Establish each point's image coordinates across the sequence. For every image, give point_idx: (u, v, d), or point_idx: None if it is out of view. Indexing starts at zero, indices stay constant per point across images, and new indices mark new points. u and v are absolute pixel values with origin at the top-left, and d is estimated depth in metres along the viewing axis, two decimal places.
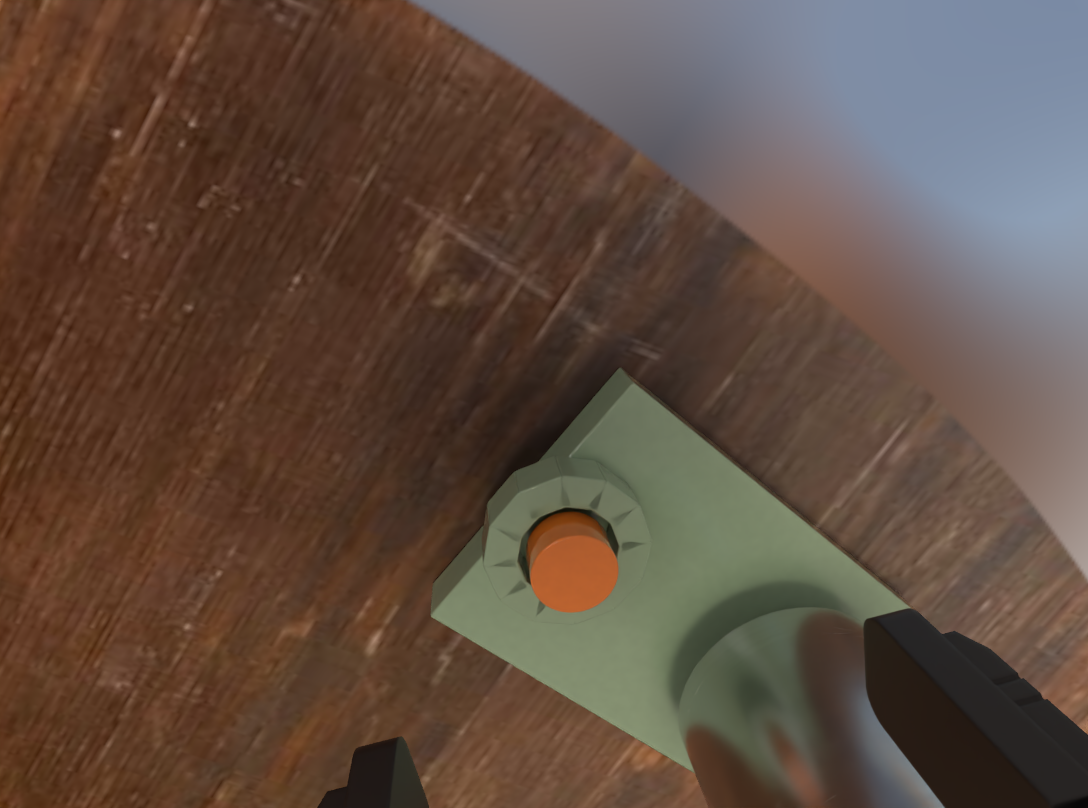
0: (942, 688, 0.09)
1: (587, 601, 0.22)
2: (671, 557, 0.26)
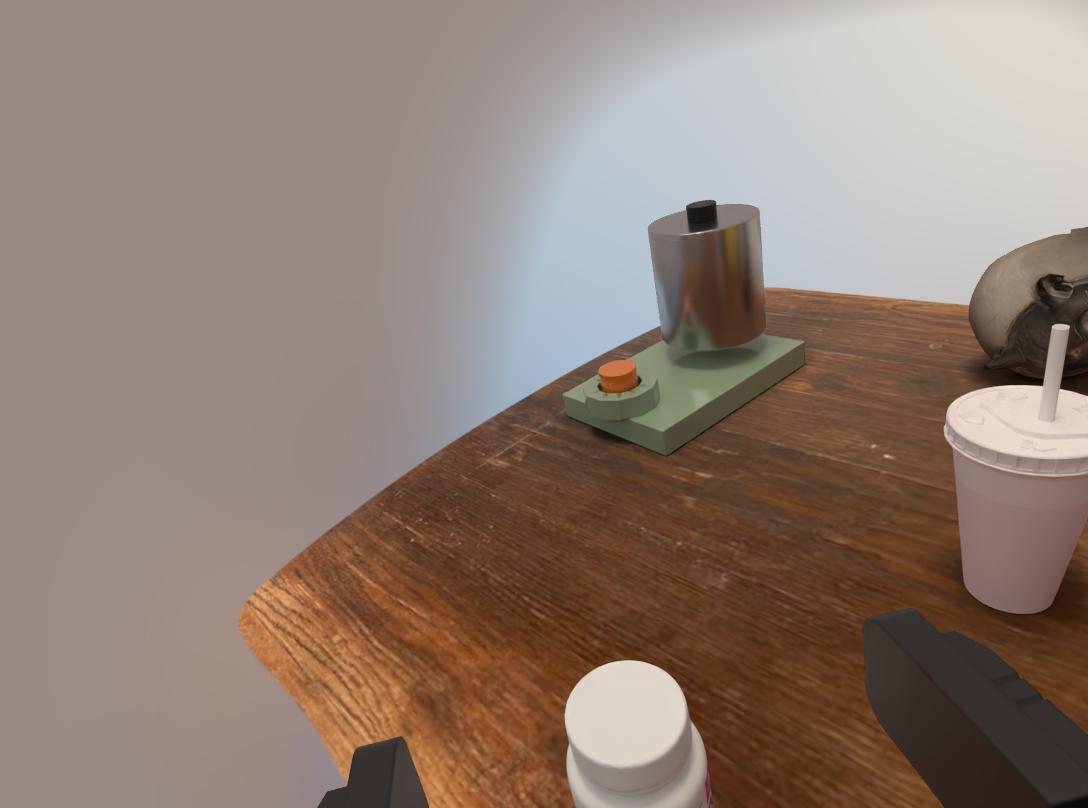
0: (942, 688, 0.09)
1: (630, 364, 0.52)
2: None
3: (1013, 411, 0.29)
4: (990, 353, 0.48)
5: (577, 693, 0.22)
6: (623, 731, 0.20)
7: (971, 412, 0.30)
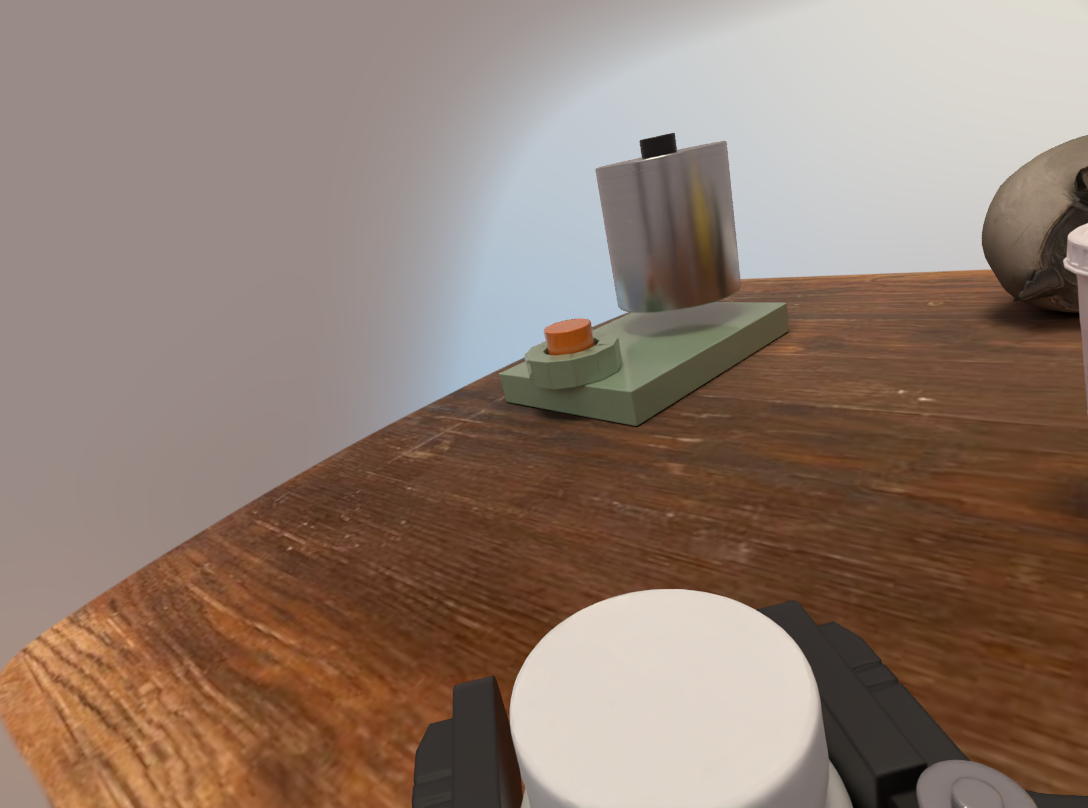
0: None
1: (583, 320, 0.41)
2: None
3: None
4: (1016, 285, 0.39)
5: (536, 662, 0.09)
6: (662, 730, 0.08)
7: None
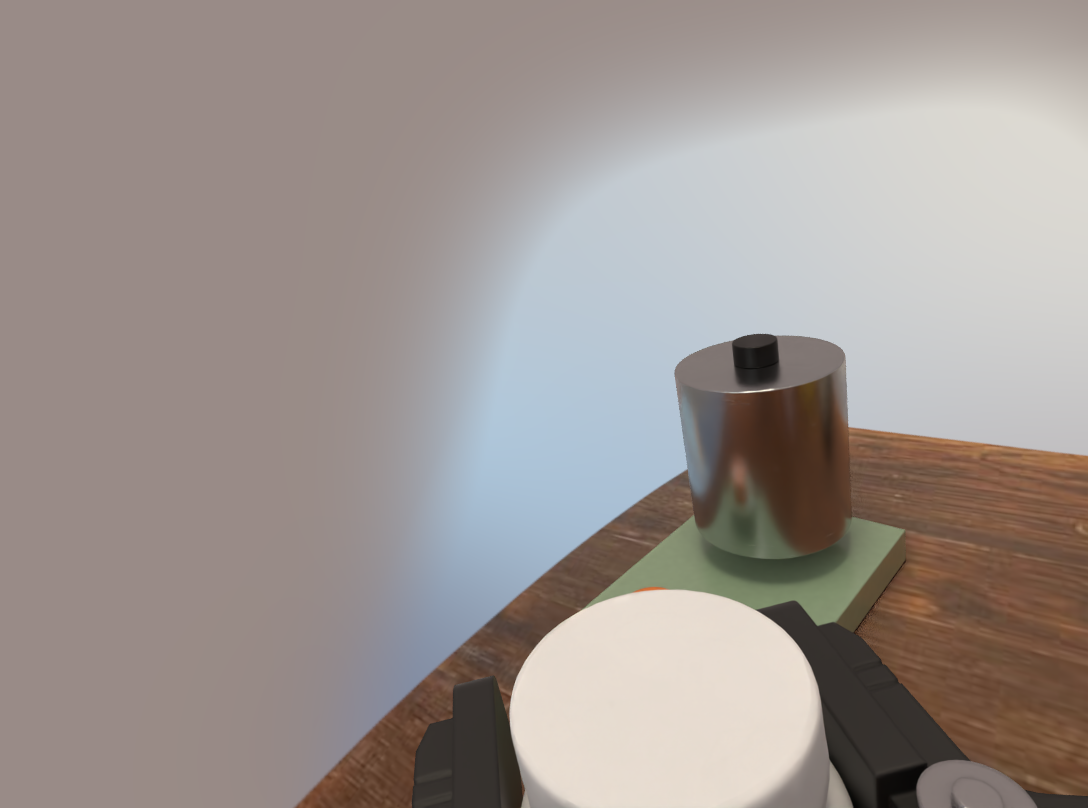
0: None
1: None
2: None
3: None
4: None
5: (537, 664, 0.09)
6: (662, 730, 0.08)
7: None
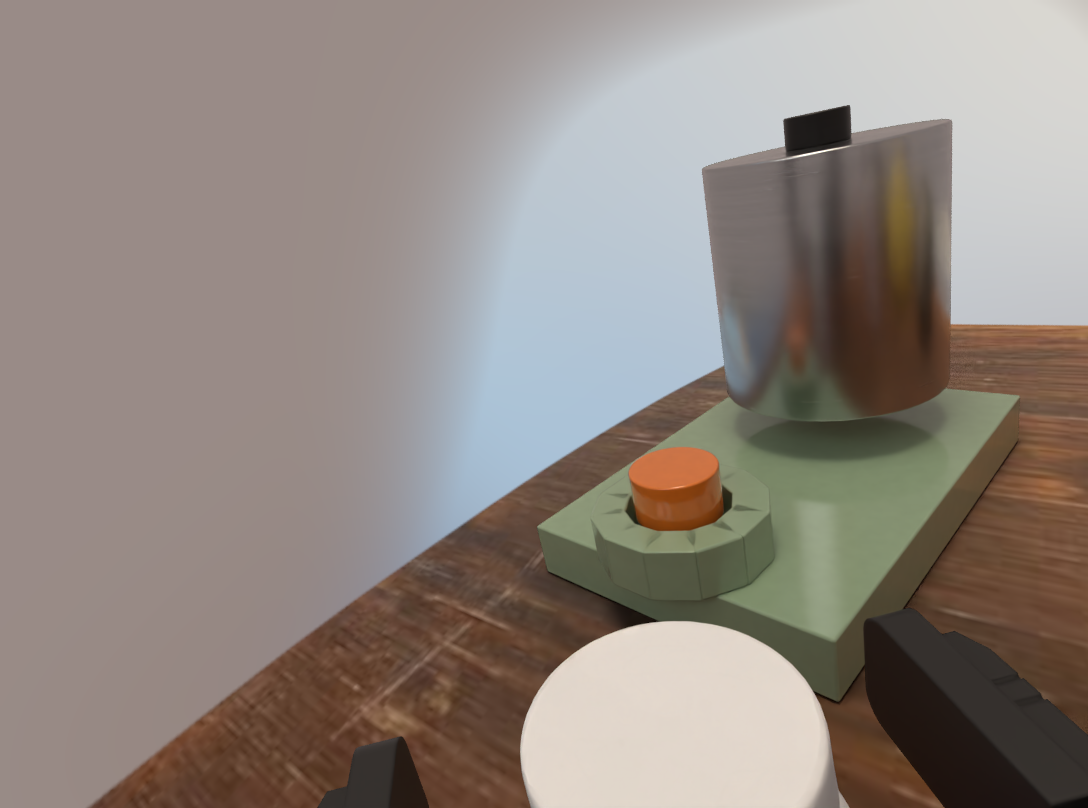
0: (942, 688, 0.09)
1: (703, 456, 0.22)
2: None
3: None
4: None
5: (547, 698, 0.09)
6: (672, 772, 0.08)
7: None
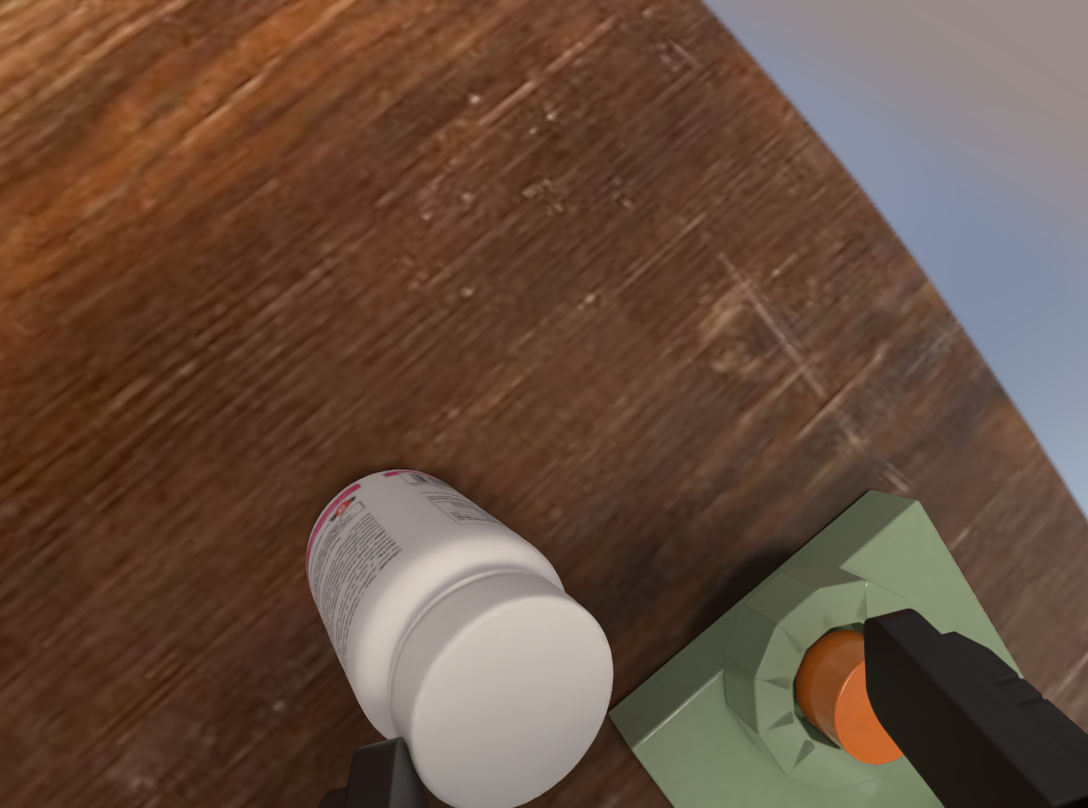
0: (942, 688, 0.09)
1: (888, 751, 0.17)
2: None
3: None
4: None
5: (574, 619, 0.12)
6: (480, 706, 0.11)
7: None
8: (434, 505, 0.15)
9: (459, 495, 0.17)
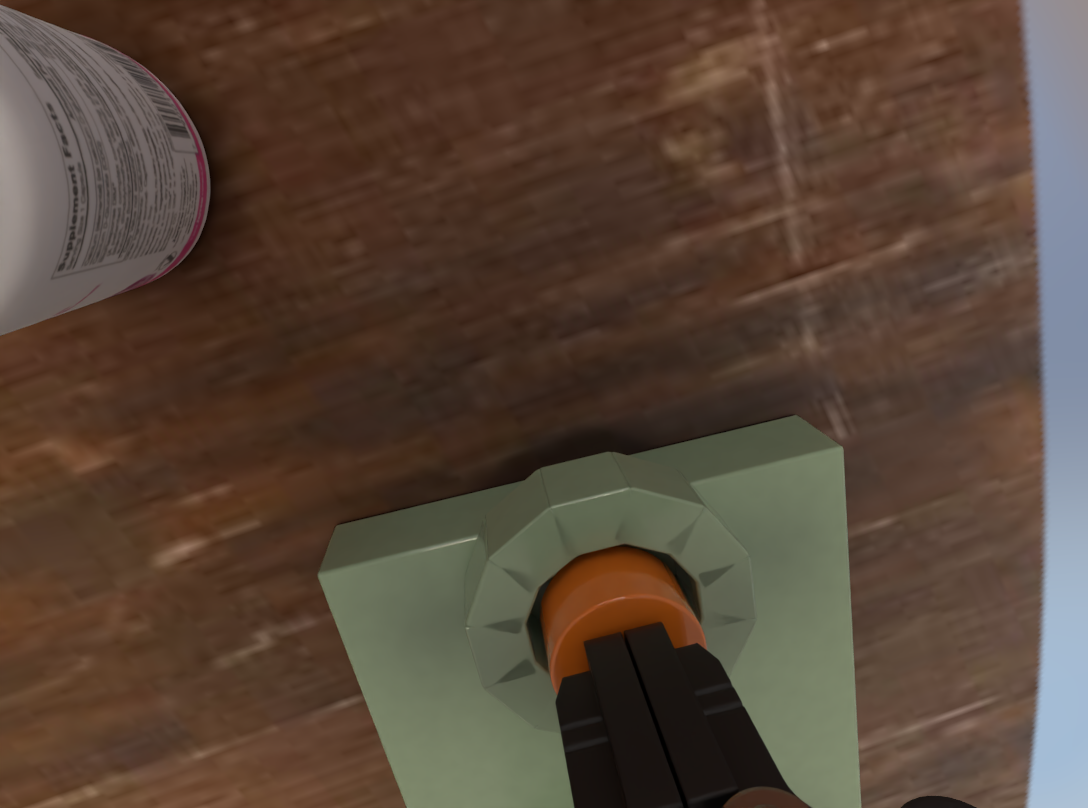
0: (652, 697, 0.10)
1: None
2: None
3: None
4: None
5: None
6: None
7: None
8: None
9: (103, 64, 0.10)
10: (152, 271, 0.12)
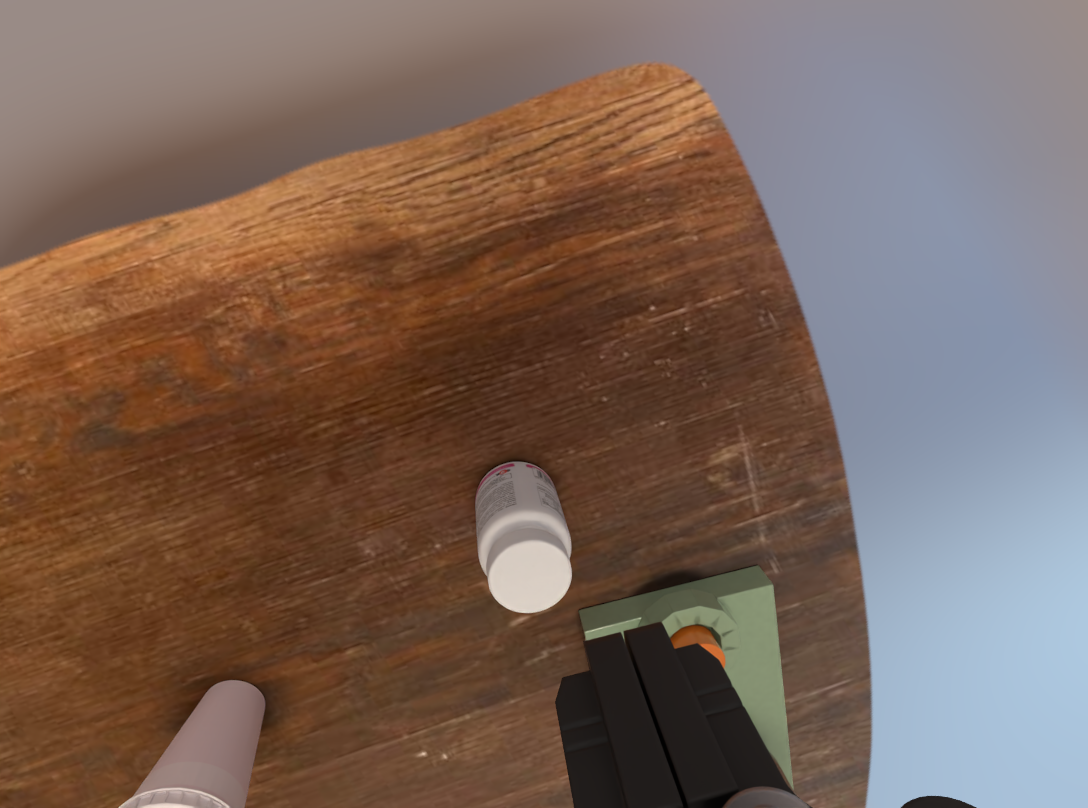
0: (652, 696, 0.10)
1: None
2: None
3: None
4: None
5: (562, 559, 0.30)
6: (517, 569, 0.30)
7: None
8: (538, 491, 0.34)
9: (552, 491, 0.36)
10: None
